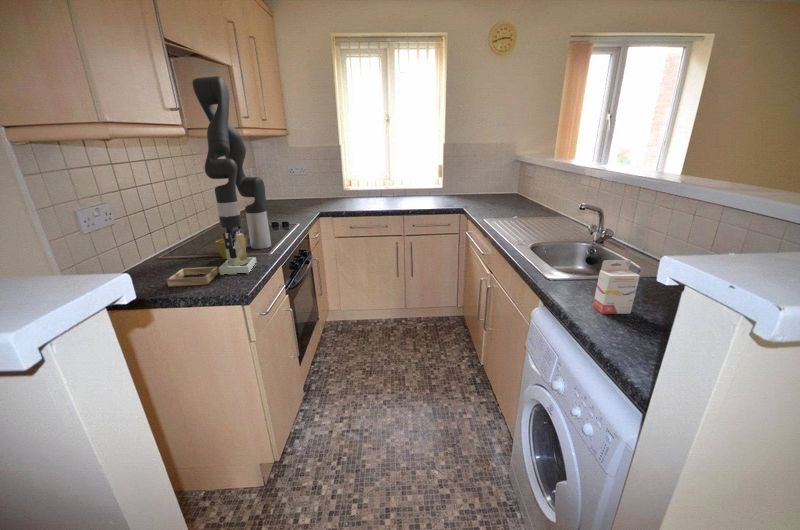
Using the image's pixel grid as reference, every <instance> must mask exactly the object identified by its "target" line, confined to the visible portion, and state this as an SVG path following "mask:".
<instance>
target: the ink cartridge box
mask: <svg viewBox="0 0 800 530" xmlns="http://www.w3.org/2000/svg"><path fill="white" fill-rule="evenodd" d="M631 263H632V261H631V259H613V260H611V259H608V260H603V261H602V263H601V268H600V271H599V274H598V280H597V284H596V289H595V293H594V299H593V303H592V307H593V308H594V310H596V311H598V312H599V313H601V315H608V314H609V315H611V314H612V315H614V314H615V315H616V314H621V315H623V314H625V315H626V314H627V315H628V314H631V313H632V308H633V304H634V301H635V296H636V292H637V290H638V284H639V281H640V277H641V275H640V274H637V273H635V272H633V271H632V270H630V266H631ZM616 264H617V265H616Z"/></svg>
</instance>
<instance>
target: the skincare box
mask: <svg viewBox="0 0 800 530" xmlns="http://www.w3.org/2000/svg"><path fill="white" fill-rule="evenodd" d="M244 238H245V235H244V233H242V234H241V233H240V234H238V236H237V243H235V249H236V255H237V257H236V258H230V253H229V249H226V248H225V249H226V255H227V260H226V261H228V266H240V265H243V264H246V263H248V260H247V258H248V254H247V246H246V247H245V240H244ZM232 240H234V239H233V238H232ZM224 243H225V242H224ZM227 244H228V243H227ZM230 245H231V244H230Z"/></svg>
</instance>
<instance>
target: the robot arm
mask: <svg viewBox="0 0 800 530" xmlns="http://www.w3.org/2000/svg"><path fill="white" fill-rule="evenodd" d="M192 89H193V91H194V94H195V96H196V98H197V99H196V100H198V103H199V104H200V107H201V109H202V110H203V112H204V114H205V116H206V117H207V119H208V121H209V124H208V127H207V132H206V137H207V147H208V148H207V155H206V158H205V162H204V172H205V175H206V176H207V177H208V178H209V179H211V180H222V179H223V180H224V179H227V180H228V181H227V182H226V183H225V184H221V185H217V186H216V187H214V194H215V200H216V208H217V214H218V219H219V224H220V225H219V226H220V227H221V228H224V229H225V233H222V235H223V236H222V237H223V239H224V242H225V248H226V249H229V253H230V258H236V257H237V255H236V249H235V243H237V236H238V234H240V233H241V234H243V231H242V225H243V221H242V216H241V215H242V214H241V209H240V204H239V203H238V196H237V191H238V193H239V195H241V196H242V197H243V198H254V201H253V202H252V203H250V204H248V205H246V206H245V207H244V209H245V216H246V223H247V228H248V236H249V241H250V247H251V249H254V250H260V249H262V250H263V249H267V248H270V247H272V242H271V240H272V239H271V234H270V227H269V226H270V225H269V220H268V212H267V197H266V185H265V182H264V180H263V179H262V177H259V176H246V175H245V172H244V167H243V166H244V163H245V162H244V161H245V159H246V156H247V155H246V154H247V149H246V145H245V143H244V140H243V138H242V135H241V133H240V132H239V131H238V130H237V129H236V128H235V127H234V126H233V125H231V124H230V123H229V119H230V118H229V117H230V115H229V114H230V92H229V88H228V85H227V83H226V81H225V79H223V77H221V76H219V75H218V76H217V75H216V76H214V75H213V76H205V77H198V78H197V77H196V78H194V79H192ZM214 105H217V106H216V108H215V106H214ZM221 157H224V158H221ZM232 238H233V239H234V240H232ZM227 243H228V244H227ZM230 244H231V245H230Z"/></svg>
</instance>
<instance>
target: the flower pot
mask: <svg viewBox="0 0 800 530" xmlns="http://www.w3.org/2000/svg"><path fill="white" fill-rule="evenodd" d="M244 240H245V247H246V248H247V237H244ZM214 243H215V245H216V247H217V251H218V253H219V255H220V256H221V257H222V258H223V259H224V260H225V259H227V255H226V249H225V243H224V238H221V239H218V240H216V241H215V242H214Z"/></svg>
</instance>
